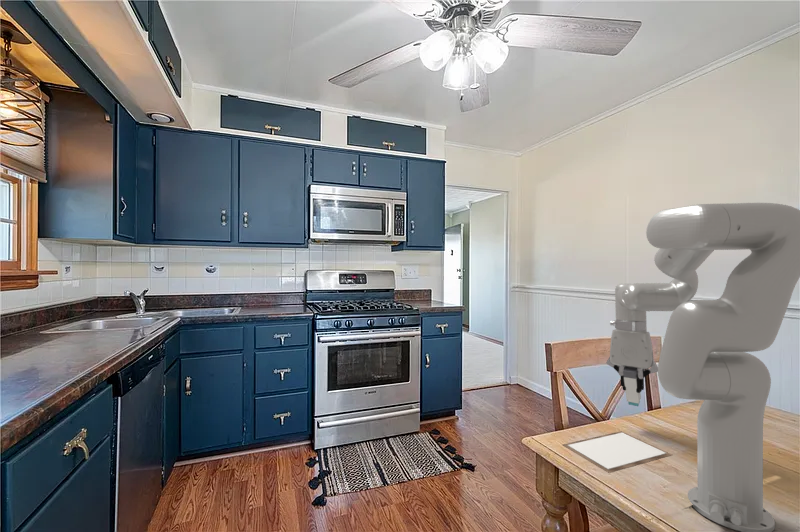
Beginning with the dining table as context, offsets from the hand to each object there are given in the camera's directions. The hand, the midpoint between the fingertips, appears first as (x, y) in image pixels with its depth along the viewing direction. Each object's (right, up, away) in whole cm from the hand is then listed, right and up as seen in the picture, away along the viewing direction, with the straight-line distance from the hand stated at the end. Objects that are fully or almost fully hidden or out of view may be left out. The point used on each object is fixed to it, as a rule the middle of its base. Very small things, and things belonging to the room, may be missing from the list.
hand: (632, 389), depth 104 cm
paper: (-11, -12, -11) cm, 19 cm away
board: (-11, -13, -11) cm, 20 cm away
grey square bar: (+1, -4, +1) cm, 5 cm away
